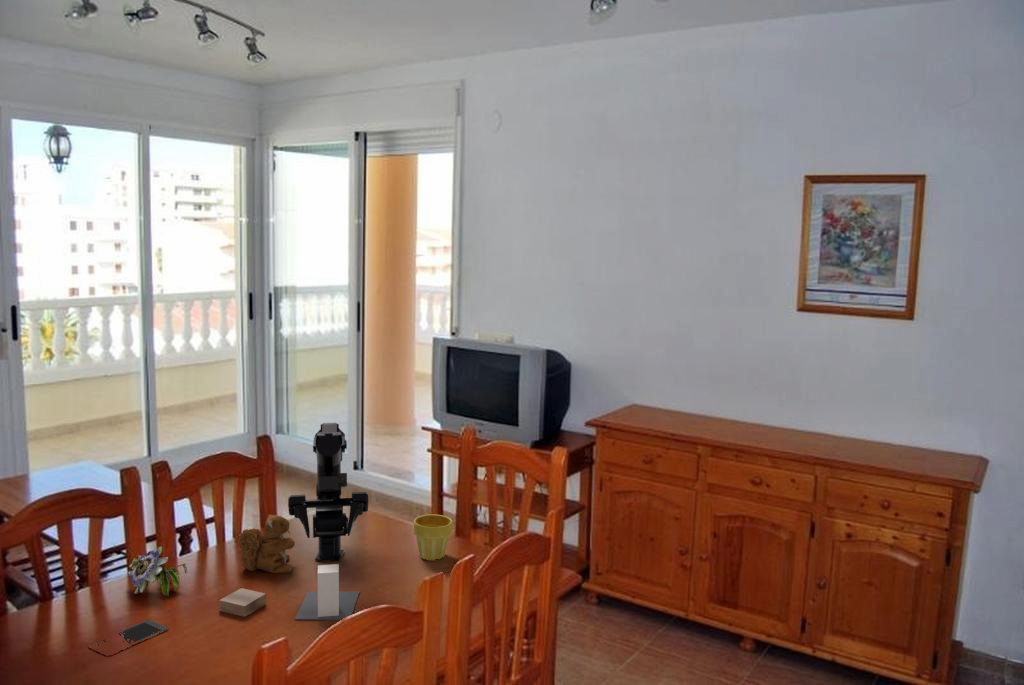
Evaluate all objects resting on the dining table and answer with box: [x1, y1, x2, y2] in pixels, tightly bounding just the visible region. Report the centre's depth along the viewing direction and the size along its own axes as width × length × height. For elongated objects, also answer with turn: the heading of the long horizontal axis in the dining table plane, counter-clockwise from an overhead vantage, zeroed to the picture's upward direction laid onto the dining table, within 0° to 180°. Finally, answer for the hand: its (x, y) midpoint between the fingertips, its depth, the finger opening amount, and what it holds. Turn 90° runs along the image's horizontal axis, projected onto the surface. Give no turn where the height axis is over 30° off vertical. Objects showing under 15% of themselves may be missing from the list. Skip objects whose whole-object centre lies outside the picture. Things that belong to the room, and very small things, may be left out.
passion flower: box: [127, 545, 188, 597], centre depth 187 cm, size 11×11×12 cm
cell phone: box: [97, 619, 169, 646], centre depth 163 cm, size 7×14×1 cm, turn 149°
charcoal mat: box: [294, 590, 360, 621], centre depth 180 cm, size 14×12×1 cm
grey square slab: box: [219, 587, 267, 618], centre depth 178 cm, size 7×7×2 cm
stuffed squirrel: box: [237, 514, 296, 574], centre depth 201 cm, size 10×14×13 cm
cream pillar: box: [317, 563, 340, 617], centre depth 176 cm, size 4×4×10 cm
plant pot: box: [412, 514, 453, 561], centre depth 210 cm, size 10×10×10 cm
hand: (328, 536), depth 186 cm, fingers open, 9 cm apart
